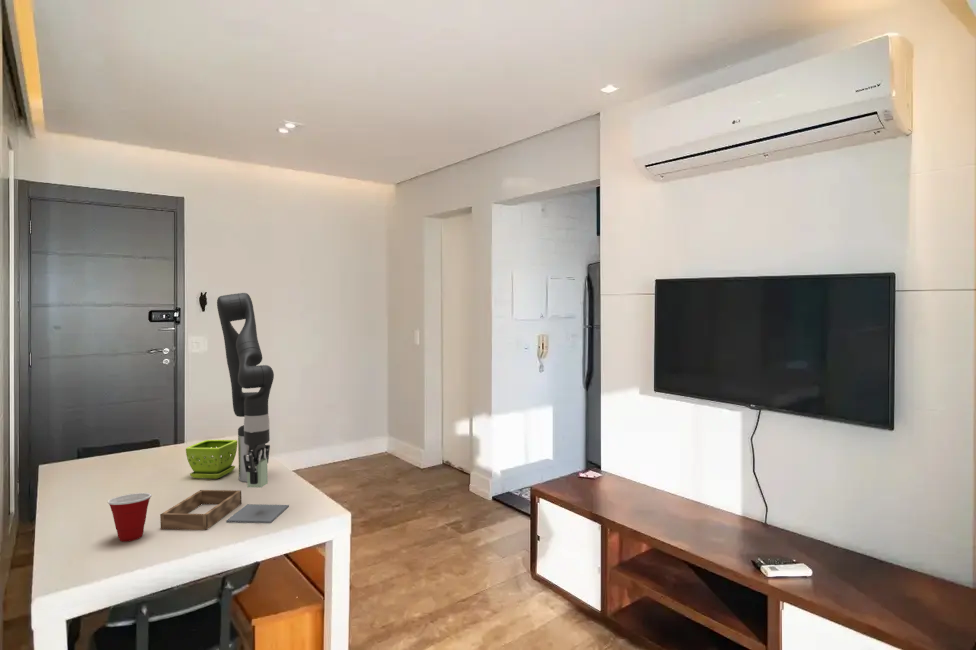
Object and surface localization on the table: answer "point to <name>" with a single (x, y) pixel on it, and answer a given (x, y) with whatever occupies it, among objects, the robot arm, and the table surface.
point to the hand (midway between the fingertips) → (257, 481)
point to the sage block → (259, 475)
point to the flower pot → (211, 458)
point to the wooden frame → (184, 521)
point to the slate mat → (258, 513)
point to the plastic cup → (129, 515)
